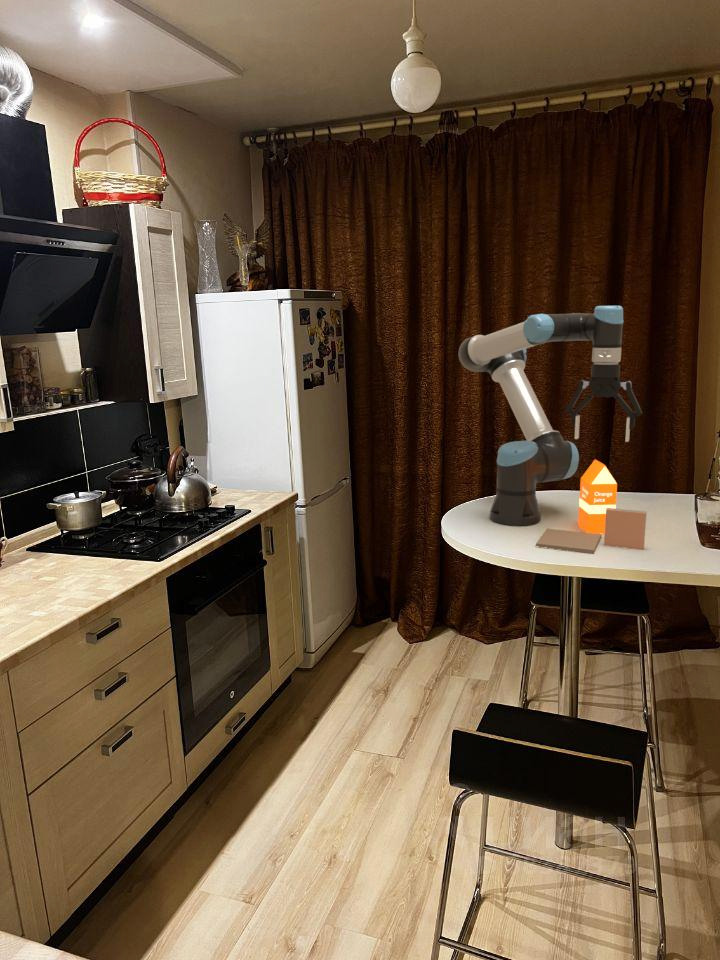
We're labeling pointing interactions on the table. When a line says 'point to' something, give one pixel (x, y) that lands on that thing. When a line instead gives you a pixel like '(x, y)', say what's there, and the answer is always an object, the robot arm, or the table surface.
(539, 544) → the cork mat
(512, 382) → the robot arm
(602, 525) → the orange juice
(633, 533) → the tile
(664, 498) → the table surface
